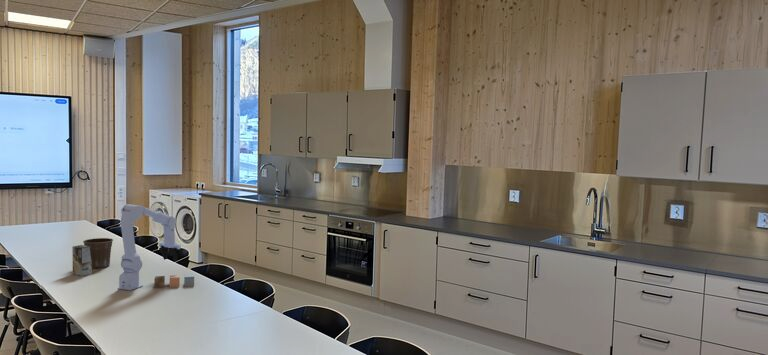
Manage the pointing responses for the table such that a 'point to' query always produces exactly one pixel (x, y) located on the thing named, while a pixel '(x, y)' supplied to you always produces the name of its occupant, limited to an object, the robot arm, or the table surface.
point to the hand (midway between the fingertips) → (170, 259)
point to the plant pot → (100, 251)
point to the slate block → (189, 280)
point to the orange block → (174, 280)
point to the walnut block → (159, 281)
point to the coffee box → (82, 260)
